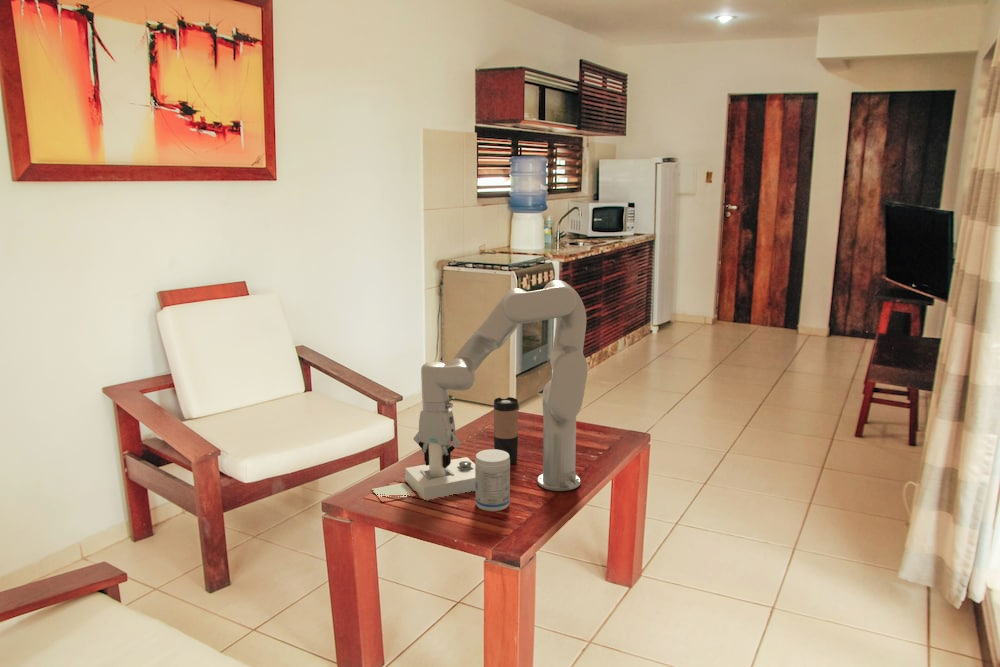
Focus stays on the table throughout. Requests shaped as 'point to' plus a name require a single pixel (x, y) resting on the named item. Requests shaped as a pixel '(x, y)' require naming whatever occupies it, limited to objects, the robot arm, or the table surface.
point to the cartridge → (436, 460)
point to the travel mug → (506, 426)
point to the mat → (393, 490)
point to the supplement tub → (492, 480)
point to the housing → (441, 480)
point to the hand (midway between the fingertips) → (437, 464)
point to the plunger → (464, 465)
